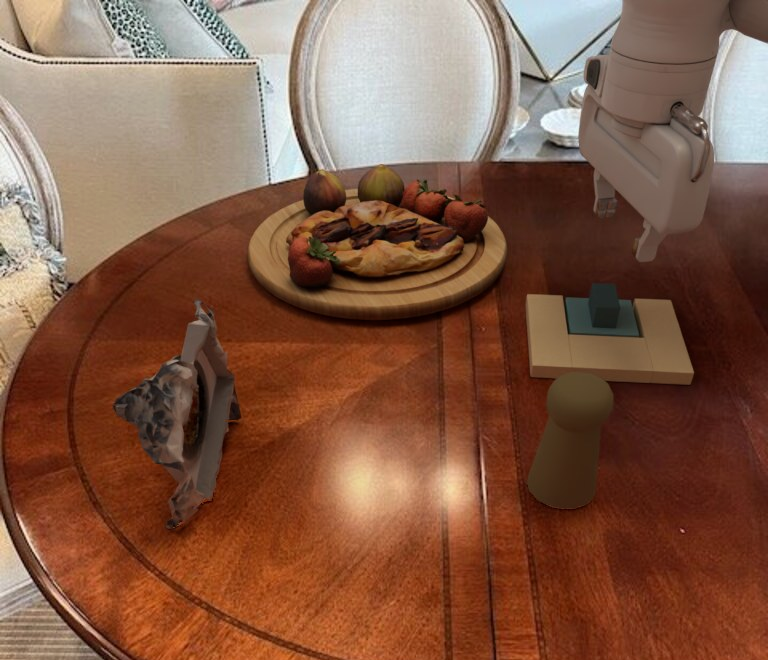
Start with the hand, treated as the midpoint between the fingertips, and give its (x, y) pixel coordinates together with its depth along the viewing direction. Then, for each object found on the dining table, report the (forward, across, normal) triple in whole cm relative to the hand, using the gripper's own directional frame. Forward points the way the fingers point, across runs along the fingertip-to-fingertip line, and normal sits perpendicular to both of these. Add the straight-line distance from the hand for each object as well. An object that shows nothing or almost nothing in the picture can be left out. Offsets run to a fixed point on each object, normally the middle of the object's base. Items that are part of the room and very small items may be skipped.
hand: (622, 236), depth 78 cm
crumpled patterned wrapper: (+11, -14, +44) cm, 48 cm away
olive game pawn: (+11, -23, +13) cm, 29 cm away
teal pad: (+11, 0, 0) cm, 11 cm away
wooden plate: (+11, +21, +21) cm, 32 cm away
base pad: (+11, -2, +1) cm, 11 cm away
